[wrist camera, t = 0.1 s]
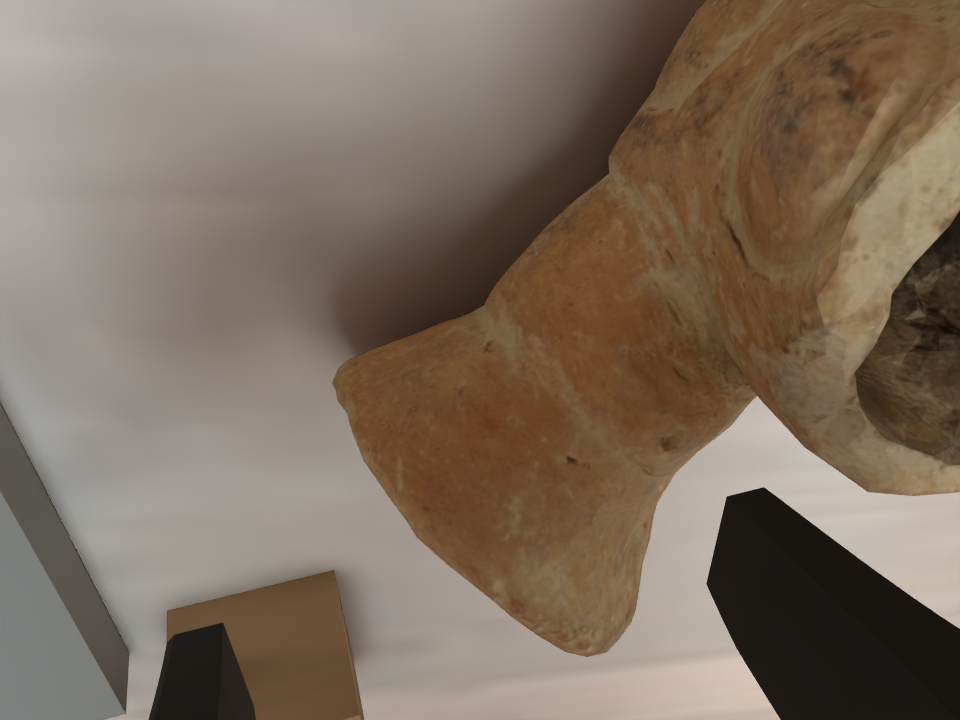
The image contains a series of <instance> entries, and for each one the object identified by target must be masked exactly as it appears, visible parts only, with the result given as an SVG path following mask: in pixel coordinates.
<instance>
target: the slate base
mask: <svg viewBox="0 0 960 720" xmlns="http://www.w3.org/2000/svg"><path fill="white" fill-rule="evenodd" d="M128 667H129V653H128V651H127V649H126V647H125V645H124V643H123V641H122V639H121V637H120V635H119V633H118V631H117V629H116V627H115V625H114V623H113V621H112V620H111V618H110V616H109V614H108V612H107V610H106V608H105V606H104V604H103V602H102V600H101V598H100V596H99V594H98V592H97V590H96V588H95V586H94V585H93V583H92V581H91V579H90V577H89V575H88V573H87V571H86V569H85V567H84V565H83V563H82V561H81V559H80V557H79V555H78V553H77V551H76V550H75V548H74V546H73V544H72V542H71V540H70V538H69V536H68V534H67V532H66V530H65V528H64V526H63V524H62V522H61V520H60V518H59V516H58V515H57V513H56V511H55V509H54V507H53V505H52V503H51V501H50V499H49V497H48V495H47V493H46V491H45V489H44V487H43V485H42V483H41V481H40V480H39V478H38V476H37V474H36V472H35V470H34V468H33V466H32V464H31V462H30V460H29V458H28V456H27V454H26V452H25V450H24V448H23V446H22V445H21V443H20V441H19V439H18V437H17V435H16V433H15V431H14V429H13V427H12V425H11V423H10V421H9V419H8V417H7V415H6V413H5V411H4V410H3V408H2V406H1V404H0V720H104V719H108V718H112V717H116V716H119V715H123V714H126V702H127V684H128Z"/></svg>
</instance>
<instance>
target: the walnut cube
mask: <svg viewBox="0 0 960 720" xmlns="http://www.w3.org/2000/svg"><path fill="white" fill-rule="evenodd" d="M219 623H224V626H225V629H226V631H227V634H228V637H229V640H230V642H231V645H232V648H233V650H234V653H235V656H236V659H237V661H238V664H239V667H240V669H241V672H242V675H243V677H244V680H245V683H246V686H247V688H248V691H249V694H250V696H251V699H252V702H253V705H254V708H255V716H256V720H364V716H363V710H362V705H361V699H360V694H359V689H358V683H357V678H356V672H355V667H354V661H353V657H352V652H351V647H350V643H349V638H348V634H347V629H346V624H345V620H344V615H343V611H342V606H341V601H340V597H339V592H338V588H337V583H336V578H335V574H334V570H333V571H329V572H325V573H321V574H316V575H312V576H308V577H304V578H300V579H296V580H292V581H288V582H284V583H280V584H276V585H271V586H267V587H263V588H259V589H255V590H251V591H247V592H243V593H239V594H235V595H231V596H226V597H222V598H218V599H214V600H210V601H206V602H202V603H198V604H194V605H190V606H186V607H181V608H177V609H173V610H169V611H167V642H168V641H169V640H170V639H171V638H172V636H173V635H175V634H179V633H183V632H187V631H191V630H195V629H199V628H203V627H207V626H211V625H215V624H219Z"/></svg>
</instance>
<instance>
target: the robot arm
mask: <svg viewBox="0 0 960 720" xmlns="http://www.w3.org/2000/svg"><path fill="white" fill-rule="evenodd" d="M707 586H708V588H709V591H710V593H711V595H712V597H713V599H714V602H715V604H716V606H717V608H718V610H719V613H720V615H721V617H722V619H723V621H724V623H725V625H726V627H727V629H728V632H729V634H730V636H731V638H732V640H733V642H734V644H735V646H736V648H737V650H738V651H739V653H740V655H741V656H742V658H743V660H744V661H745V663H746V665H747V666H748V668H749V669H750V671H751V673H752V674H753V676H754V677H755V679H756V681H757V682H758V684H759V686H760V687H761V689H762V690H763V692H764V694H765V695H766V697H767V698H768V700H769V702H770V703H771V705H772V706H773V708H774V710H775V711H776V713H777V714H778V716H779V718H780V719H781V720H960V629H959V628H957V627H956V626H954V625H953V624H951V623H950V622H948V621H947V620H945V619H943V618H942V617H940V616H939V615H938V614H936V613H935V612H933V611H932V610H930V609H929V608H927V607H926V606H924V605H923V604H921V603H920V602H919V601H917V600H916V599H914V598H913V597H911V596H910V595H909V594H907V593H906V592H904V591H903V590H902V589H900V588H899V587H897V586H896V585H895V584H893V583H892V582H890V581H889V580H888V579H886V578H885V577H883V576H882V575H880V574H879V573H878V572H876V571H875V570H874V569H872V568H871V567H869V566H868V565H867V564H865V563H864V562H863V561H861V560H860V559H859V558H857V557H856V556H854V555H853V554H852V553H850V552H849V551H848V550H846V549H845V548H844V547H842V546H841V545H840V544H838V543H837V542H836V541H834V540H833V539H832V538H830V537H829V536H828V535H826V534H825V533H824V532H822V531H821V530H820V529H819V528H817V527H816V526H815V525H813V524H812V523H811V522H809V521H808V520H807V519H805V518H804V517H803V516H801V515H800V514H799V513H797V512H796V511H795V510H793V509H792V508H791V507H790V506H788V505H787V504H786V503H784V502H783V501H782V500H780V499H779V498H778V497H776V496H775V495H774V494H772V493H771V492H769V491H768V490H767V489H765V488H764V487H763V488H759V489H755V490H751V491H747V492H743V493H739V494H735V495H731V496H727V498H726V502H725V507H724V511H723V515H722V519H721V524H720V528H719V532H718V537H717V541H716V545H715V550H714V554H713V558H712V562H711V567H710V571H709V575H708V580H707ZM149 720H256V716H255V708H254V705H253V702H252V699H251V696H250V694H249V691H248V688H247V686H246V683H245V680H244V677H243V675H242V672H241V669H240V667H239V664H238V661H237V659H236V656H235V653H234V650H233V648H232V645H231V642H230V640H229V637H228V634H227V631H226V629H225V626H224V623H219V624H215V625H211V626H207V627H203V628H199V629H195V630H191V631H187V632H183V633H179V634H175V635H173V636H172V638H171V639H170V640H169V641H168V642H167V646H166V651H165V656H164V661H163V666H162V670H161V674H160V678H159V682H158V686H157V690H156V694H155V698H154V702H153V706H152V709H151V713H150V717H149Z"/></svg>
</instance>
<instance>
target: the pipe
mask: <svg viewBox="0 0 960 720" xmlns="http://www.w3.org/2000/svg"><path fill="white" fill-rule="evenodd" d="M608 161H609V174H608V175H607V176H605V177H604V178H603V179H602V180H600V181H599V182H598V183H597V184H596V185H594V186H593V187H592V188H590V189H589V190H588V191H586V192H585V193H584V194H582V195H581V196H580V197H578V198H577V199H576V200H574V201H573V202H572V203H571V204H570V205H569V206H568V207H567V208H566V209H565V210H564V211H562V212H561V213H560V214H559V215H558V216H557V217H556V218H555V219H554V220H553V221H552V222H551V223H549V224H548V225H547V226H546V227H545V228H544V229H543V230H542V231H541V233H540V234H539V235H538V236H537V237H536V239H535V240H534V241H533V242H532V243H531V244H530V246H529V247H528V248H527V249H526V250H525V251H524V253H523V254H522V255H521V256H520V257H519V258H518V259H517V260H516V261H515V262H514V263H513V264H512V265H511V266H510V267H509V268H508V269H507V271H506V272H505V273H504V275H503V276H502V277H501V279H500V280H499V281H498V282H497V284H496V285H495V286H494V288H493V289H492V291H491V292H490V294H489V296H488V298H487V300H486V302H485V305H484V306H482V307H480V308H478V309H476V310H475V311H473V312H471V313H469V314H467V315H464V316H461V317H458V318H455V319H451V320H447V321H445V322H442V323H440V324H438V325H435V326H433V327H430V328H428V329H426V330H423V331H421V332H418V333H416V334H413V335H411V336H408V337H405V338H402V339H400V340H397V341H394V342H391V343H388V344H385V345H382V346H379V347H376V348H374V349H372V350H369V351H367V352H365V353H363V354H361V355H358V356H356V357H354V358H352V359H350V360H347V361H346V362H345V363H344V364H343V365H342V366H341V367H340V368H339V369H338V371H337V373H336V376H335V378H334V380H333V383H332V384H333V386H334V388H335V390H336V393H337V398H338V402H339V403H340V404H341V406H342V407H343V408H344V410H345V411H346V412H347V415H348V418H349V422H350V426H351V429H352V432H353V435H354V437H355V440H356V442H357V445H358V447H359V450H360V452H361V454H362V457H363V459H364V462H365V463H366V464H367V466H368V467H369V469H370V470H371V472H372V473H373V475H374V476H375V477H376V479H377V480H378V482H379V483H380V485H381V486H382V488H383V489H384V491H385V492H386V493H387V495H388V496H389V498H390V499H391V501H392V502H393V503H394V505H395V506H396V507H397V509H398V510H399V511H400V513H401V514H402V515H403V517H404V518H405V519H406V521H407V522H408V524H409V525H410V527H411V529H412V530H413V532H414V533H415V535H416V536H417V538H418V539H419V540H421V541H422V542H423V543H424V544H425V545H426V546H427V547H429V548H430V549H431V550H432V551H433V552H434V553H435V554H436V555H438V556H439V557H440V558H441V559H442V560H443V561H444V562H445V563H447V564H448V565H449V566H450V567H452V568H453V569H454V570H455V571H457V572H458V573H459V574H460V575H462V576H463V577H464V578H465V579H467V580H468V581H469V582H470V583H472V584H473V585H474V586H475V587H477V588H478V589H479V590H480V591H482V592H483V593H484V594H485V595H487V596H488V597H489V598H490V599H492V600H493V601H494V602H495V603H496V604H498V605H499V606H500V607H501V608H502V609H503V610H505V611H506V612H507V613H508V614H509V615H510V616H512V617H513V618H514V619H515V620H517V621H518V622H520V623H521V624H523V625H524V626H525V627H527V628H528V629H530V630H531V631H533V632H534V633H535V634H537V635H538V636H540V637H542V638H543V639H545V640H547V641H548V642H550V643H552V644H553V645H555V646H557V647H558V648H560V649H562V650H563V651H565V652H568V653H573V654H577V655H582V656H586V657H589V656H593V655H597V654H601V653H605V652H607V651H608V650H609V649H610V648H611V647H612V646H613V645H614V644H615V643H616V642H617V641H618V640H619V638H620V637H621V636H622V634H623V633H624V631H625V630H626V629H627V627H628V626H629V625H630V623H631V621H632V618H633V616H634V613H635V610H636V605H637V599H638V592H639V585H640V578H641V570H642V563H643V560H644V556H645V553H646V550H647V546H648V543H649V539H650V534H651V528H652V521H653V515H654V512H655V509H656V505H657V502H658V500H659V499H660V497H661V495H662V494H663V492H664V490H665V489H666V487H667V486H668V484H669V482H670V481H671V479H672V477H673V476H674V474H675V473H676V472H677V471H678V470H679V469H680V468H681V467H682V466H683V465H684V464H685V463H686V462H687V461H688V460H690V459H691V458H692V457H693V456H694V455H695V454H696V453H697V452H698V451H699V450H701V449H702V448H703V447H705V446H706V445H707V444H708V443H710V442H711V441H712V440H714V439H715V438H716V437H717V436H719V435H720V434H721V433H722V432H724V431H725V430H726V429H728V428H729V427H730V426H731V425H732V424H733V423H734V421H735V420H736V419H737V418H738V416H739V415H740V414H741V413H742V411H743V410H744V409H745V408H746V407H747V405H748V404H749V403H750V402H751V401H752V400H753V399H754V398H755V397H756V396H758V397H759V398H760V399H761V401H762V402H763V403H764V404H765V405H766V406H767V407H768V408H769V409H770V410H771V411H772V412H773V413H774V415H775V416H776V417H777V418H778V419H779V420H780V421H781V422H782V423H783V424H784V425H785V426H786V427H787V428H788V430H789V431H790V432H791V433H792V434H793V435H794V436H795V437H796V438H797V439H798V440H799V442H800V443H801V444H802V445H803V446H804V447H805V448H806V449H808V450H809V451H811V452H812V453H814V454H815V455H817V456H818V457H819V458H821V459H822V460H824V461H825V462H827V463H828V464H829V465H831V466H832V467H834V468H835V469H837V470H838V471H839V472H841V473H842V474H844V475H845V476H846V477H848V478H849V479H851V480H852V481H853V482H855V483H856V484H858V485H859V486H860V487H862V488H863V489H865V490H866V491H868V492H874V493H885V494H897V495H908V496H919V495H931V494H943V493H955V492H960V0H707V1H706V2H705V3H704V4H703V5H702V6H701V7H700V8H699V9H698V10H697V11H696V13H695V14H694V16H693V17H692V19H691V20H690V22H689V23H688V25H687V26H686V28H685V29H684V31H683V33H682V35H681V36H680V38H679V40H678V41H677V43H676V45H675V47H674V48H673V50H672V52H671V53H670V55H669V57H668V59H667V61H666V63H665V65H664V67H663V69H662V71H661V73H660V75H659V77H658V79H657V82H656V86H655V89H654V90H653V91H652V92H651V94H650V95H649V96H648V98H647V99H646V101H645V102H644V103H643V105H642V106H641V108H640V109H639V110H638V112H637V113H636V115H635V116H634V117H633V119H632V120H631V121H630V123H629V124H628V125H627V127H626V128H625V129H624V131H623V132H622V133H621V135H620V137H619V139H618V140H617V142H616V144H615V146H614V148H613V150H612V152H611V154H610V156H609V158H608Z"/></svg>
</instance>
